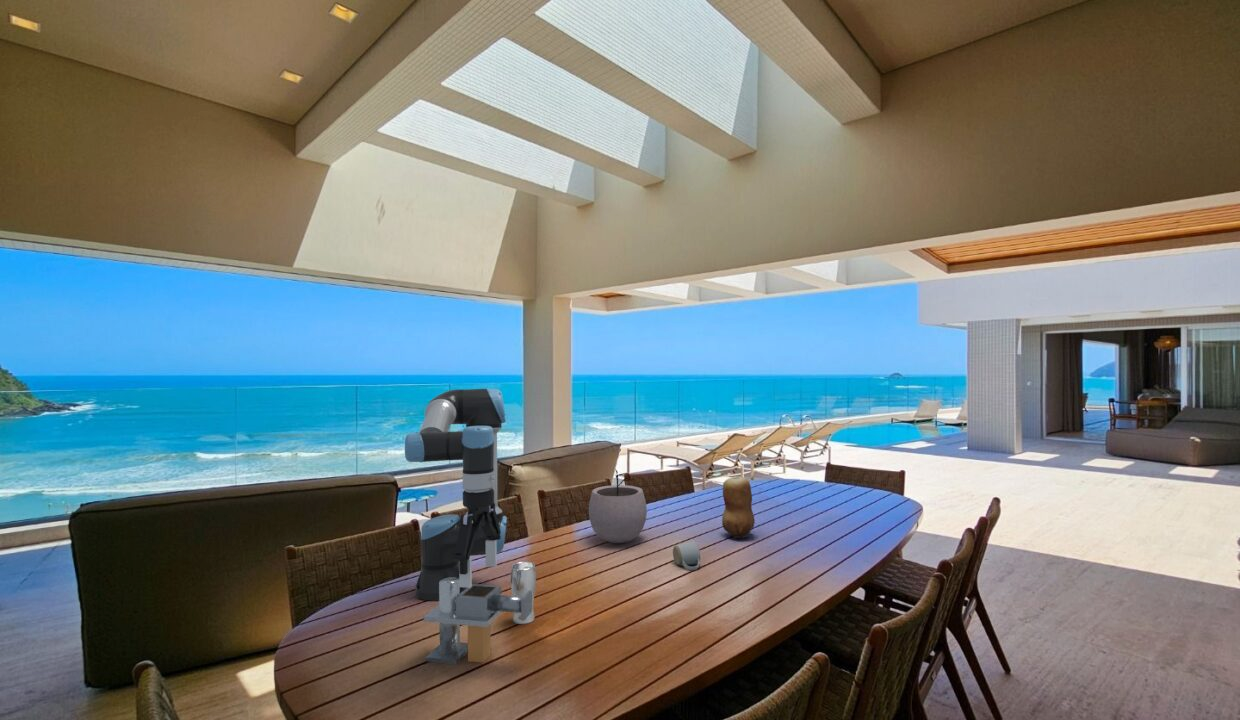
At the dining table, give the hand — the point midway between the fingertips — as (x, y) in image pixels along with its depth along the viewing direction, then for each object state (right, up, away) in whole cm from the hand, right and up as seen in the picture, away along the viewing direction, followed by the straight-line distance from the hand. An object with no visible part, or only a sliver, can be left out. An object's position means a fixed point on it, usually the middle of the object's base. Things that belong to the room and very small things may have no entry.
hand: (479, 576), depth 130 cm
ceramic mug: (+59, -21, +60) cm, 87 cm away
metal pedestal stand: (-3, -20, 0) cm, 20 cm away
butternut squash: (+85, -21, +91) cm, 126 cm away
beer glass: (+7, -20, +19) cm, 29 cm away
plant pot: (+34, -22, +88) cm, 97 cm away
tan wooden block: (0, -20, -1) cm, 20 cm away
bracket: (+4, -9, -1) cm, 10 cm away
